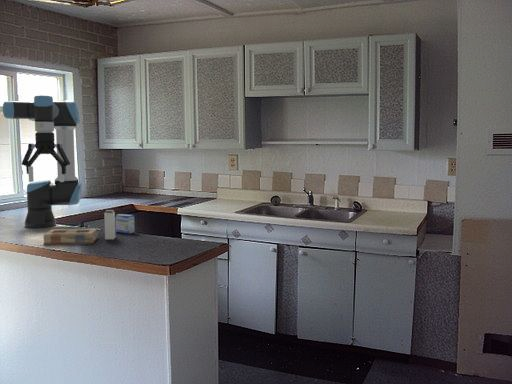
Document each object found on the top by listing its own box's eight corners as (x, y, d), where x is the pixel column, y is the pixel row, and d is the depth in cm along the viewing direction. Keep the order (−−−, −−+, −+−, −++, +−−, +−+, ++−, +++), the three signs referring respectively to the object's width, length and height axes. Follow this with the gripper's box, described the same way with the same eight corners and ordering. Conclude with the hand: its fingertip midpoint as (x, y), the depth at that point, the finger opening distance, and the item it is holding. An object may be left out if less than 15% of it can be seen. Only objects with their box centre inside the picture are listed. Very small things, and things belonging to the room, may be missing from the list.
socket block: (52, 238, 240) (51, 228, 239) (97, 237, 242) (97, 227, 242) (43, 245, 226) (43, 234, 225) (91, 244, 228) (91, 233, 228)
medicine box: (115, 232, 256) (115, 215, 255) (120, 231, 260) (120, 213, 259) (129, 233, 253) (129, 215, 252) (134, 232, 257) (134, 214, 257)
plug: (106, 237, 243) (105, 209, 242) (115, 237, 243) (114, 209, 242) (105, 239, 239) (104, 211, 238) (114, 239, 240) (113, 210, 238)
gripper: (11, 132, 222) (13, 182, 224) (69, 132, 220) (71, 182, 223) (20, 132, 229) (22, 180, 231) (76, 132, 228) (78, 181, 230)
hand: (46, 181), depth 227 cm, fingers open, 13 cm apart
